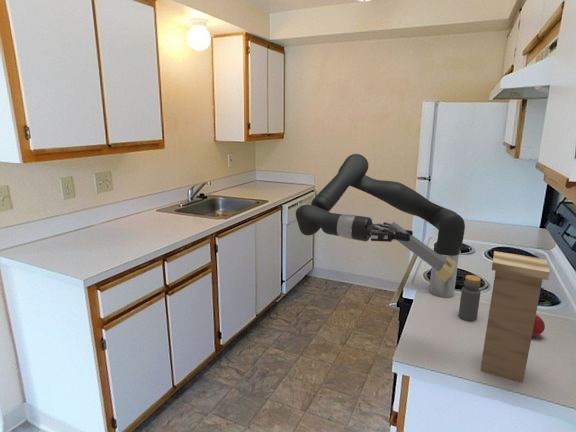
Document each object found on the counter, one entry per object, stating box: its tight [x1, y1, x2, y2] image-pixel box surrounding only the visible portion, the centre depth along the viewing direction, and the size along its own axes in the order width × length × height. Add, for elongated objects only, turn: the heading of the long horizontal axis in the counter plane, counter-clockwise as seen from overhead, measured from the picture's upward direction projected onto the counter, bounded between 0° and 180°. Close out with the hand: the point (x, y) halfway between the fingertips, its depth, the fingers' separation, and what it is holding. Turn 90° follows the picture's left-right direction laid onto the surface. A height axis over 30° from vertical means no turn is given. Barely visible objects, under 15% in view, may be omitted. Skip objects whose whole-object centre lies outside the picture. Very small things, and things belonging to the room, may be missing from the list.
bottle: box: [458, 274, 482, 322], centre depth 129 cm, size 6×6×15 cm
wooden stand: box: [480, 250, 550, 384], centre depth 100 cm, size 10×12×32 cm
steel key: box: [388, 221, 457, 282], centre depth 108 cm, size 10×21×3 cm
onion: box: [532, 313, 546, 337], centre depth 119 cm, size 6×6×8 cm
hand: (410, 236), depth 109 cm, fingers closed on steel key, 3 cm apart
